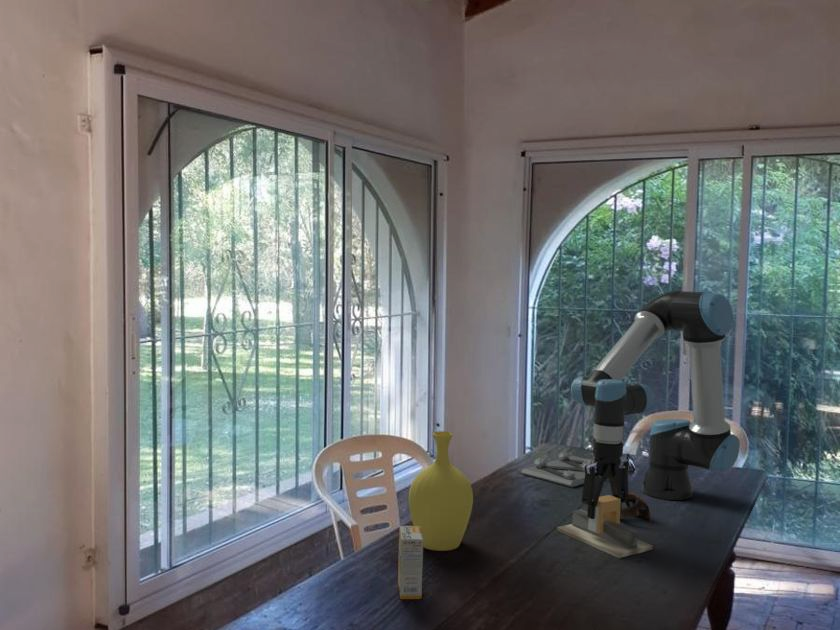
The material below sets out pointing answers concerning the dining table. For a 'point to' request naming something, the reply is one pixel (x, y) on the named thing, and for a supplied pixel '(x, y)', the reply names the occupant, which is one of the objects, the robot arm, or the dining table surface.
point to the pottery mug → (635, 507)
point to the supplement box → (410, 562)
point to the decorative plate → (560, 470)
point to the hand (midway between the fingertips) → (603, 528)
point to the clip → (608, 510)
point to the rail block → (605, 536)
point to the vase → (441, 500)
